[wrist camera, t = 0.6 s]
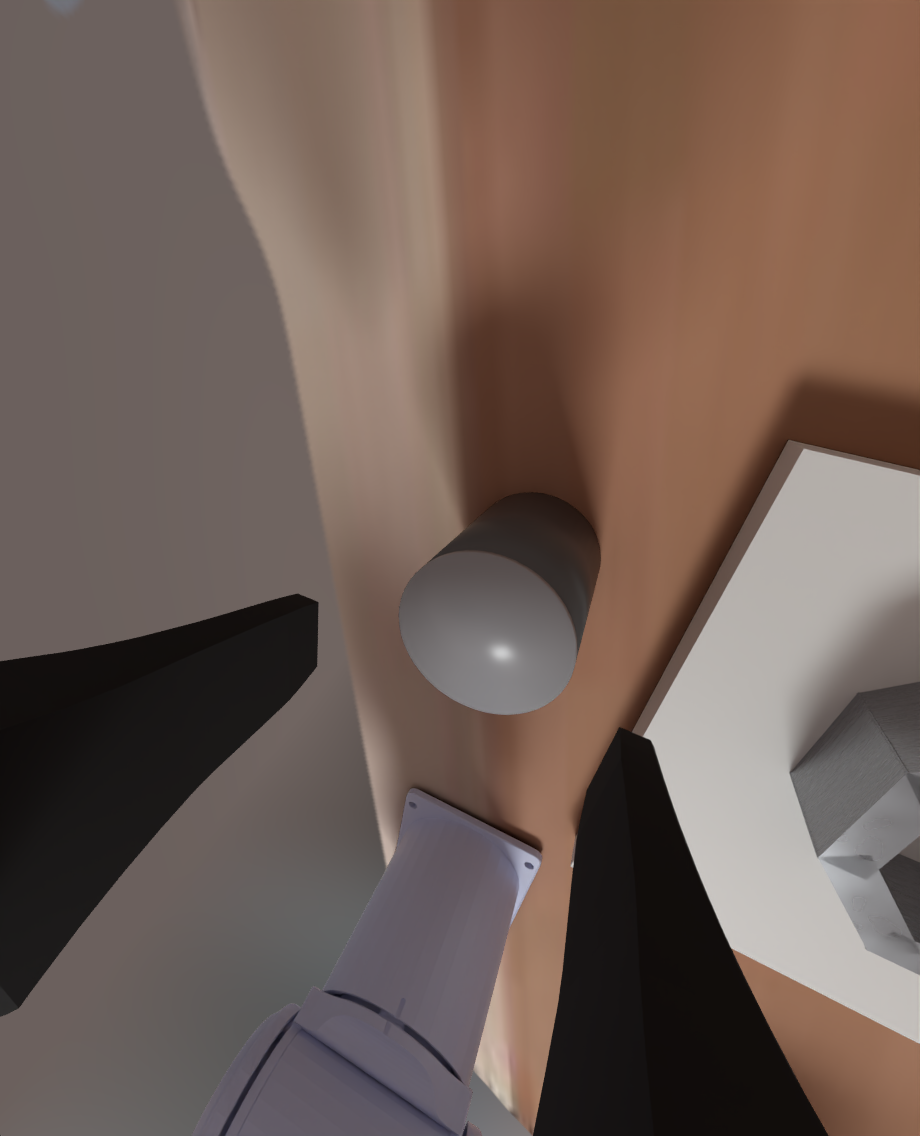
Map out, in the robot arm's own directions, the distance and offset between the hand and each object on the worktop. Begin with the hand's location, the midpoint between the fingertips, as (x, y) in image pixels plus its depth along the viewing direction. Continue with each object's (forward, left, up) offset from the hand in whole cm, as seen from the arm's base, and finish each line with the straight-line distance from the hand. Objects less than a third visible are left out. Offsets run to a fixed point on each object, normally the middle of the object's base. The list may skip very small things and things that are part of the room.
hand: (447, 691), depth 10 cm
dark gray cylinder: (0, 0, -8) cm, 8 cm away
